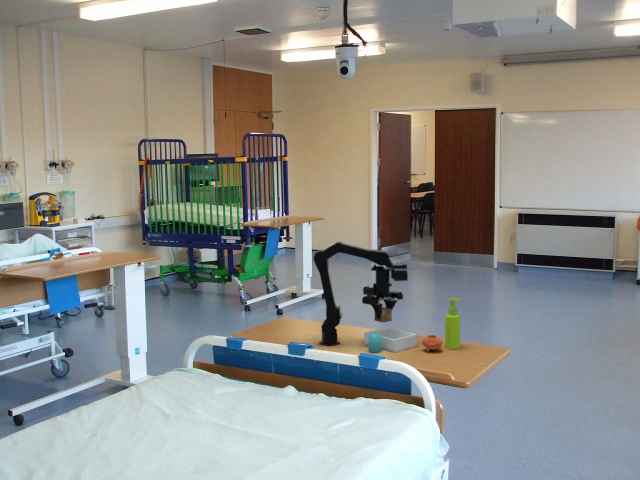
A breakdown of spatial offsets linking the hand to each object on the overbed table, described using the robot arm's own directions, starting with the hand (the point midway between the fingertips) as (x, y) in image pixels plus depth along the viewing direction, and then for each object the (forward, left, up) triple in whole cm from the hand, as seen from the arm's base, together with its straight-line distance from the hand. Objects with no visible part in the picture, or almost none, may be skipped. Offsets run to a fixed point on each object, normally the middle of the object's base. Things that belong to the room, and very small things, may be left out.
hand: (383, 318), depth 268 cm
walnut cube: (0, 0, -1) cm, 1 cm away
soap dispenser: (+24, +16, -11) cm, 31 cm away
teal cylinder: (+6, -11, -11) cm, 16 cm away
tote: (+4, 0, -11) cm, 12 cm away
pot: (+21, +6, -11) cm, 25 cm away
